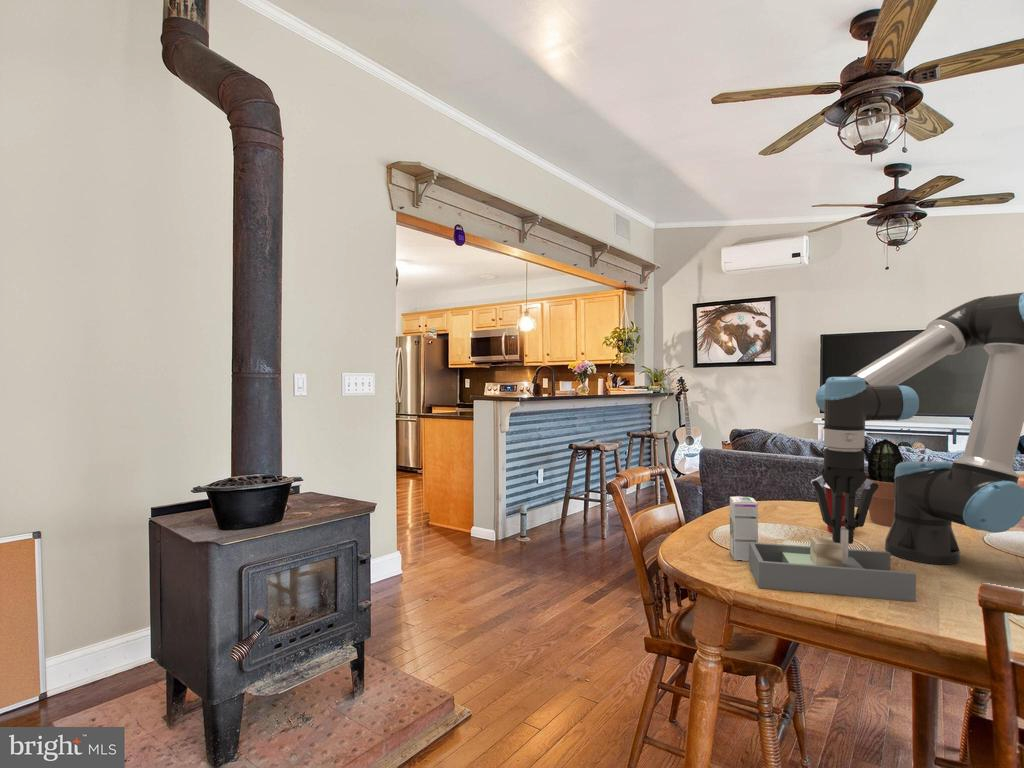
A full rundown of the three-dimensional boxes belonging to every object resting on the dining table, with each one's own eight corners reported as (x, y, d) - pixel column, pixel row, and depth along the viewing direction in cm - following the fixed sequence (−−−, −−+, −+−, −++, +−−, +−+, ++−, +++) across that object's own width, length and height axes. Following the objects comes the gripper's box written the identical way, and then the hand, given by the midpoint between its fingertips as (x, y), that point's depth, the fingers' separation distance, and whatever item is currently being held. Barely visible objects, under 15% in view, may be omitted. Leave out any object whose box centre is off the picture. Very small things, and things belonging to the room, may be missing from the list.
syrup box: (758, 562, 137) (759, 502, 136) (732, 560, 138) (733, 501, 137) (753, 554, 142) (754, 496, 142) (728, 553, 143) (729, 495, 143)
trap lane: (888, 576, 127) (888, 551, 127) (915, 601, 114) (916, 574, 114) (748, 565, 135) (749, 542, 134) (758, 587, 121) (759, 562, 121)
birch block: (835, 560, 126) (835, 538, 126) (842, 568, 121) (842, 545, 121) (810, 559, 127) (810, 536, 127) (816, 566, 122) (816, 543, 122)
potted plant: (928, 528, 163) (929, 441, 162) (880, 529, 163) (882, 442, 162) (895, 516, 177) (896, 435, 176) (851, 516, 177) (852, 436, 176)
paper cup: (854, 537, 155) (855, 486, 155) (822, 533, 159) (823, 483, 159) (855, 530, 162) (856, 481, 162) (824, 526, 166) (825, 478, 166)
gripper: (815, 450, 120) (814, 561, 121) (884, 452, 117) (883, 566, 118) (806, 445, 127) (805, 550, 128) (871, 447, 124) (869, 554, 125)
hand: (842, 557), depth 123 cm, fingers closed
